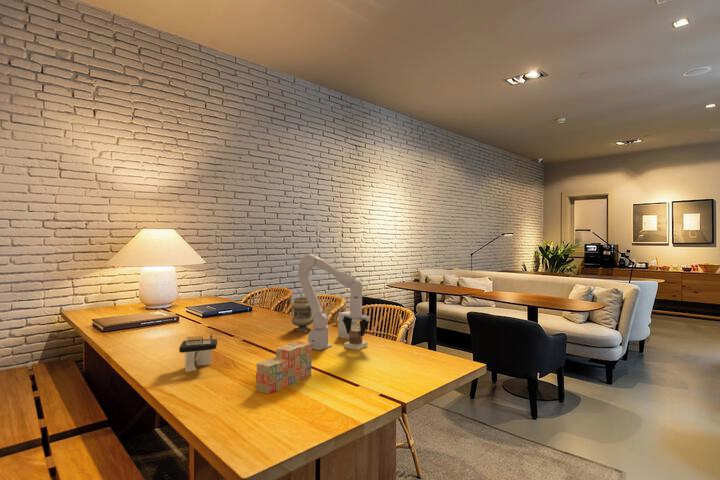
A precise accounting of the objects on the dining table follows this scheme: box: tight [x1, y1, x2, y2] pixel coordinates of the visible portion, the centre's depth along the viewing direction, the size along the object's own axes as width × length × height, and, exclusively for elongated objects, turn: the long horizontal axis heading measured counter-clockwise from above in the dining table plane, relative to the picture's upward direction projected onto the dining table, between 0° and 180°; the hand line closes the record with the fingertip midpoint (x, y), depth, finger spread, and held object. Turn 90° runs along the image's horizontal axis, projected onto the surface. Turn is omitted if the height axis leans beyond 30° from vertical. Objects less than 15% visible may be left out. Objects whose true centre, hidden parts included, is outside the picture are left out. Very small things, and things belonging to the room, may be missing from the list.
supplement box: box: [337, 310, 358, 340], centre depth 206 cm, size 7×7×13 cm
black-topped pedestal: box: [178, 332, 218, 373], centre depth 155 cm, size 28×26×13 cm
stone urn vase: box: [291, 296, 313, 333], centre depth 220 cm, size 12×12×18 cm
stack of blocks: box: [255, 341, 313, 395], centre depth 140 cm, size 21×6×12 cm, turn 147°
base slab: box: [343, 340, 368, 351], centre depth 187 cm, size 8×8×2 cm
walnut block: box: [348, 328, 363, 344], centre depth 187 cm, size 4×4×6 cm
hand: (355, 334), depth 187 cm, fingers open, 7 cm apart
